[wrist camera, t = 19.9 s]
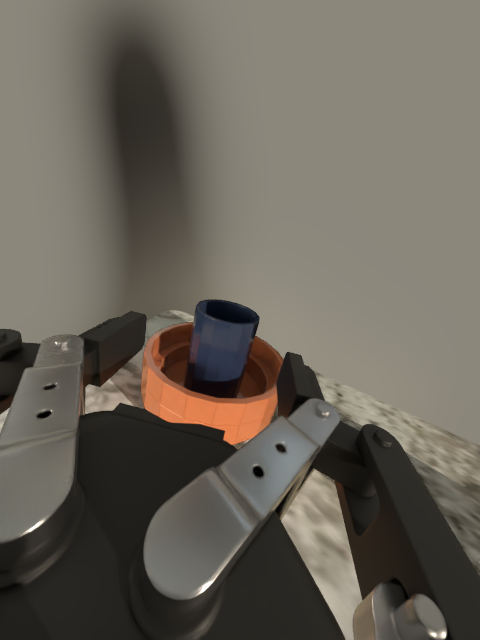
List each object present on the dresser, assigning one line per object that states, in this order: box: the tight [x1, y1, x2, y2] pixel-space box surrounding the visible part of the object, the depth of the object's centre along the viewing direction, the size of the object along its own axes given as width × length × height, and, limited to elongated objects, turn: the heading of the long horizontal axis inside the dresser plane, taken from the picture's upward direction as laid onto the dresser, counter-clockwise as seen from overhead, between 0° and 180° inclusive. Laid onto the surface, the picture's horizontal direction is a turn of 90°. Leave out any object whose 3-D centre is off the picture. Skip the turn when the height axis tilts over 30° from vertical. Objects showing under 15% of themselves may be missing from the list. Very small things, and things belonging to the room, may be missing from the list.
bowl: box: [141, 322, 284, 445], centre depth 24 cm, size 14×14×5 cm
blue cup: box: [184, 300, 259, 398], centre depth 23 cm, size 6×6×9 cm
